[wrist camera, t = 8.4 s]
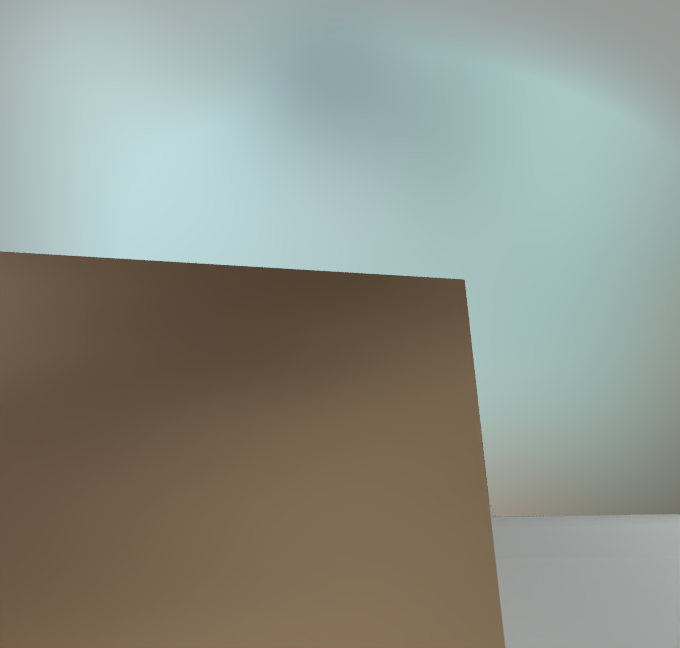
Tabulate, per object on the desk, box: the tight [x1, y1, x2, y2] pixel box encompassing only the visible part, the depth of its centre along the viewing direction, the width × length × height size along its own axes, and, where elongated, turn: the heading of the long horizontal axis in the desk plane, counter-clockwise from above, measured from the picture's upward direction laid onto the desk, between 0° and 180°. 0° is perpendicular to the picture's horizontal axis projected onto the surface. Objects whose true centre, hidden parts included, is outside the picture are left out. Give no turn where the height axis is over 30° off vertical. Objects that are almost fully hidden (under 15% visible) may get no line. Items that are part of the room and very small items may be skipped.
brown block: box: [0, 252, 505, 648], centre depth 13 cm, size 7×22×7 cm, turn 4°
